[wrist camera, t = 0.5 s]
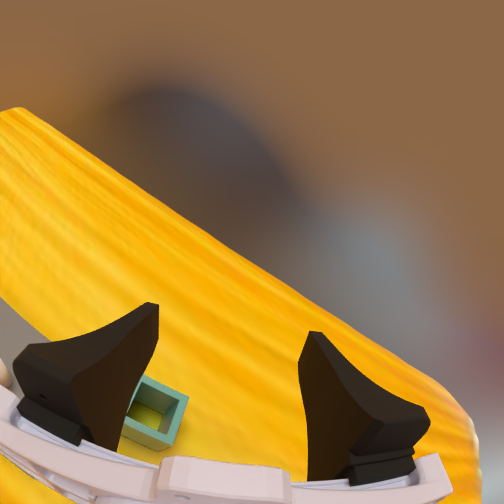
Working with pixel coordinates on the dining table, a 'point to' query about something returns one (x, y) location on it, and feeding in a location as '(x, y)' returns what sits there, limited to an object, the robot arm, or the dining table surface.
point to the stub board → (14, 345)
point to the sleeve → (161, 402)
